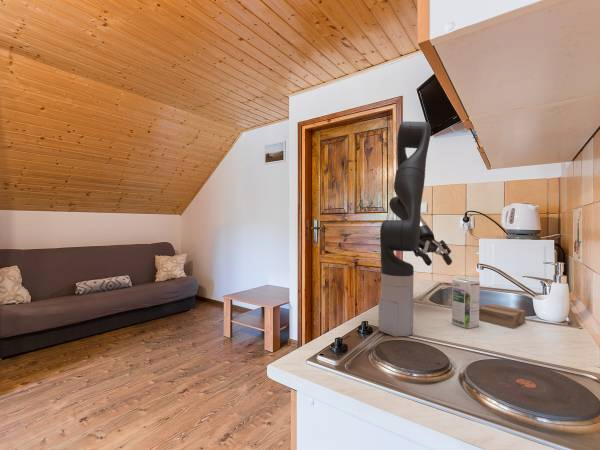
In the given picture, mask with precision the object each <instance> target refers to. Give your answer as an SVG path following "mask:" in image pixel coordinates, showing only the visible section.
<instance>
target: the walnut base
mask: <svg viewBox="0 0 600 450" xmlns="http://www.w3.org/2000/svg"><path fill="white" fill-rule="evenodd" d="M479 321H482V322H484V323H485V322H486V323H490V324H493V325H497V326H501V327H505V328H508V329H515V328H517V327H519V326H521V325H523V324H525V323H526V310H525V309H518V308H514V307H509V306H505V305H500V304H496V303H489V304H486V305H484V306H481V307H480V306H479Z"/></svg>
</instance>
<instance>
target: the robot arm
mask: <svg viewBox="0 0 600 450" xmlns="http://www.w3.org/2000/svg"><path fill="white" fill-rule="evenodd" d="M398 127H399V128H398V132H397V139H396V163H397V164H396V166H397V167H396V168H397V170H396V171H395V175H394V176H395V177H394V183H393V190H394V192H395V195H396V196H394V197H392V198H391V199H390V200H389V204H388V205H389V209H390V210H391V212H392V213H393V214H394V215H395V216H397V218H398V220H397V219H393V220H392V219H389V220H388V219H386V220H384V221H383V222H382V223H381V225H380V230H379V243H380V245H379V246H380V270H381V271H380V273H381V274H380V275H381V276H380V278H381V279H380V298H379V299H378V331H380V332H382V333H385V334H387V335H390V336H392V337H395V338H397V337H408V336H411V335H413V333H414V277H415V276H414V275H415V273H414V269H415V268H414V266H413V265H412V263H409V262H407V261H405V260H403V259H401V258H399V257H398V256H397V255H396V254H395V252H412V253H413V254H414V256H415V257H416V258H418V257H420V258H421V259H422V260H423V262H424V264H426V266H429V267H430V266H431V264H433V261H432V260H431V258H430V256H429V255H428V254H429V253H431V254H432V253H434V254H436V255H438V256H441V257H442V259H443V261H444V263H445V265H447V266H450V265H452V264H453V260H452V258H451V257H450V254H451V253H452V250H451V249H450V247H449V246H448V244H447V243H446V242H445V241H444V240H442V239H441V240H440V241H438V240H437V239H435V235H434V233H433V231H432V229H431V228H430V227H429V225H428V224H427V222H426V221H425V220H424V219H423V217H422V216H421V212H422V211H421V209H422V200H423V193H424V187H425V180H426V179H425V178H426V168H427V167H426V164H427V157H428V152H429V151H428V149H429V145H430V140H431V134H432V127H431V124H430V123H429V122H428V121H427V122H426V121H411V120H409V121H402V122H401V123H400V124H399V126H398ZM406 149H415V151H413V153H411V155H410V156H409V157H408V156H407V151H406Z"/></svg>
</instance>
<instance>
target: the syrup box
mask: <svg viewBox="0 0 600 450" xmlns="http://www.w3.org/2000/svg"><path fill="white" fill-rule="evenodd" d="M480 281H481V280H480ZM480 281H478V280H472V279H467V278H457V277H456V278H454V279H452V285H451V286H452V287H451V289H452V293H451V295H452V296H451V298H452V300H451V301H452V302H451V303H452V305H451V324H453V325H456V326H459V327H462V328H465V329H473V328H477V327H478V328H479V327H480V320H479V308H480V287H481V286H480V285H481V284H480V283H481V282H480Z"/></svg>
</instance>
